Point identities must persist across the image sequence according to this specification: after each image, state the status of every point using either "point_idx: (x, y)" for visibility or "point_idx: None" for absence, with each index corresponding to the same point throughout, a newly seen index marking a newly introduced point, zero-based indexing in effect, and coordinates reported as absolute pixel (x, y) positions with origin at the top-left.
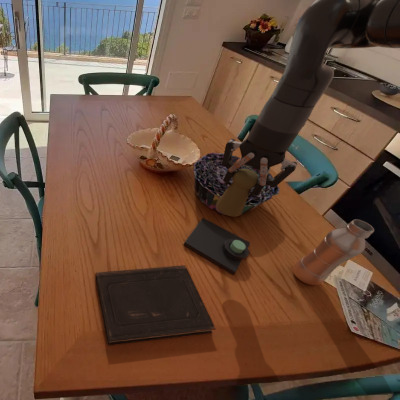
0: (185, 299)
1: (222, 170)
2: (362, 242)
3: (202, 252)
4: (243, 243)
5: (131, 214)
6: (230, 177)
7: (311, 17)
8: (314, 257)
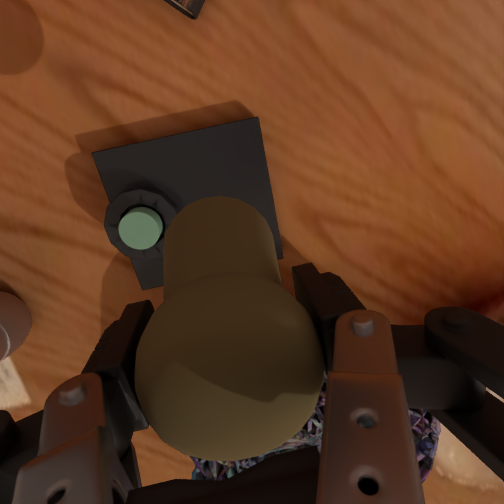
0: None
1: None
2: None
3: (197, 130)
4: (134, 246)
5: (448, 74)
6: (314, 295)
7: None
8: None
